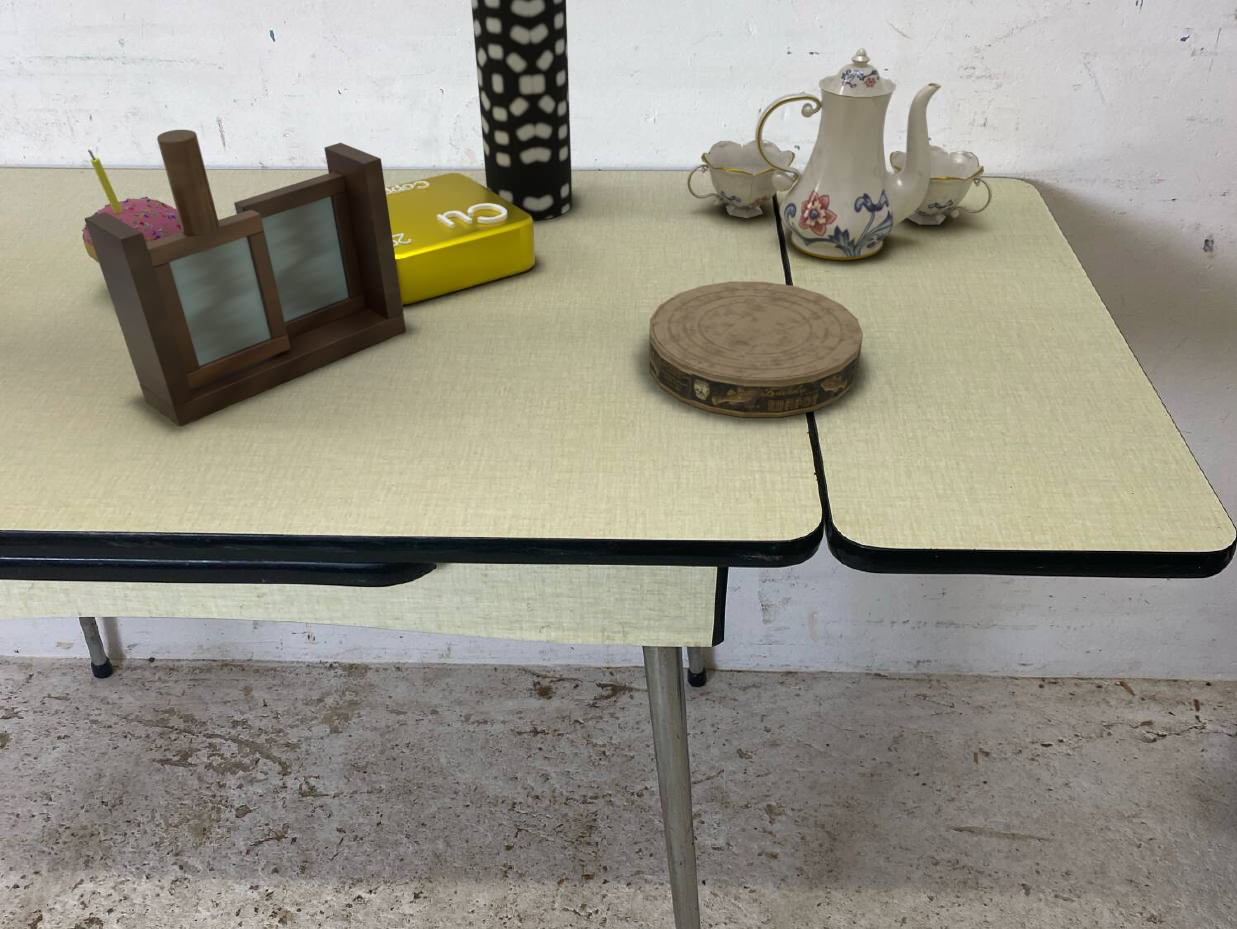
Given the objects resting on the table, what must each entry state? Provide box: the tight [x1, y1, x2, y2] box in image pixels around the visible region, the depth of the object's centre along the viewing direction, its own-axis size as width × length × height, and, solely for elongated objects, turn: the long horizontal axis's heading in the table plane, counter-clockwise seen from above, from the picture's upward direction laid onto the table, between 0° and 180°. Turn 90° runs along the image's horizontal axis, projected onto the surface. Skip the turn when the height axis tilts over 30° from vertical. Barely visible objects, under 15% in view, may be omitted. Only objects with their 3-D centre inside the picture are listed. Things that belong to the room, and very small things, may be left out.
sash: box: [146, 129, 290, 389], centre depth 74 cm, size 8×2×16 cm, turn 136°
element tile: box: [385, 172, 536, 306], centre depth 96 cm, size 15×15×5 cm
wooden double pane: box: [84, 142, 407, 427], centre depth 79 cm, size 20×5×14 cm, turn 136°
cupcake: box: [81, 149, 182, 264], centre depth 89 cm, size 9×8×12 cm
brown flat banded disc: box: [648, 281, 864, 418], centre depth 82 cm, size 16×16×3 cm
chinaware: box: [686, 47, 993, 261], centre depth 97 cm, size 28×17×17 cm, turn 89°
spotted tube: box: [470, 0, 573, 221], centre depth 100 cm, size 8×8×20 cm
